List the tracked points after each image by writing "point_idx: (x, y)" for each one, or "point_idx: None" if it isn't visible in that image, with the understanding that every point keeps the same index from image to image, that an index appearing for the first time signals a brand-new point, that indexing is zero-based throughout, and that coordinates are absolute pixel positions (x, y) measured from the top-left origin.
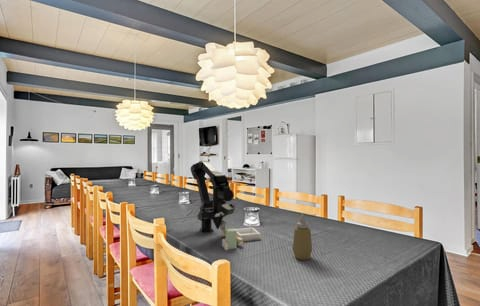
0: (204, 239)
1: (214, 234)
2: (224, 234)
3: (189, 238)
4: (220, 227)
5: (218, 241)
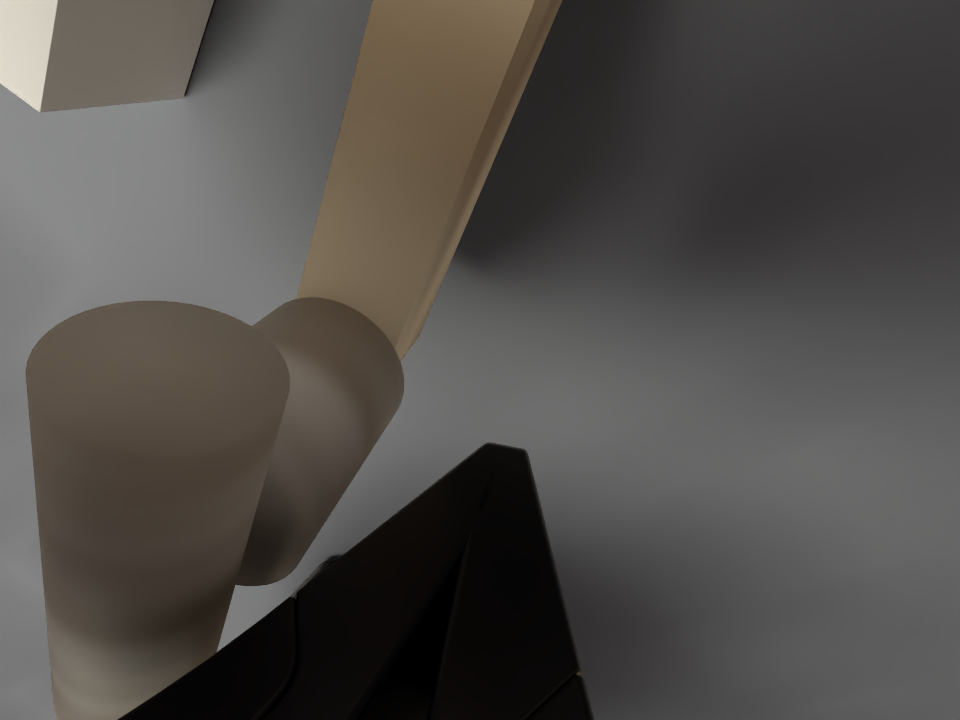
0: (867, 490)
1: (445, 471)
2: (495, 149)
3: (915, 714)
4: (372, 448)
5: (908, 82)
